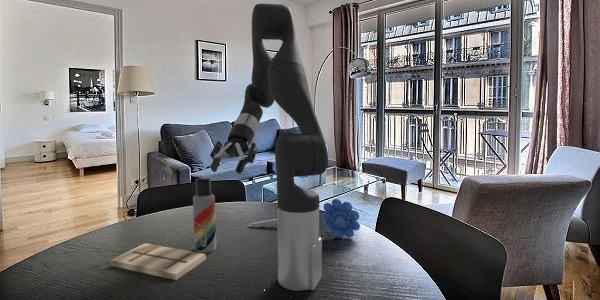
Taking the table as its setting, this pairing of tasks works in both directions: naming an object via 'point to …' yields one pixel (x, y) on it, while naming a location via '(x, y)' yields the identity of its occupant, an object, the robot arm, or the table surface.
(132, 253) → the oak board
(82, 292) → the table surface
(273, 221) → the caliper
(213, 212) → the lotion bottle
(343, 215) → the blue flower
